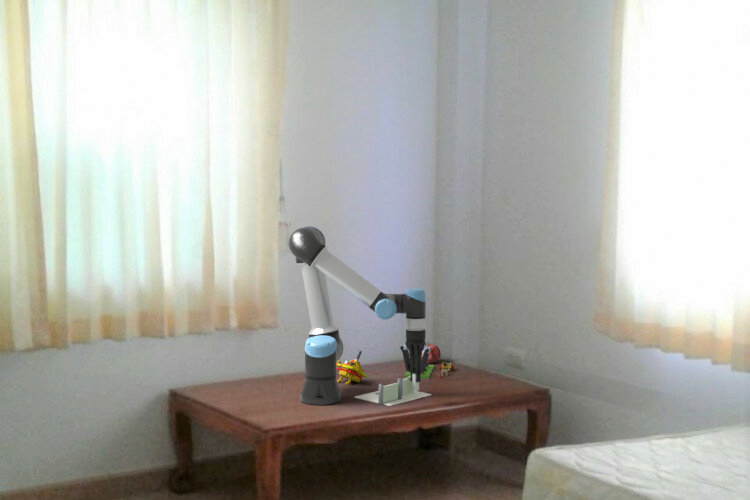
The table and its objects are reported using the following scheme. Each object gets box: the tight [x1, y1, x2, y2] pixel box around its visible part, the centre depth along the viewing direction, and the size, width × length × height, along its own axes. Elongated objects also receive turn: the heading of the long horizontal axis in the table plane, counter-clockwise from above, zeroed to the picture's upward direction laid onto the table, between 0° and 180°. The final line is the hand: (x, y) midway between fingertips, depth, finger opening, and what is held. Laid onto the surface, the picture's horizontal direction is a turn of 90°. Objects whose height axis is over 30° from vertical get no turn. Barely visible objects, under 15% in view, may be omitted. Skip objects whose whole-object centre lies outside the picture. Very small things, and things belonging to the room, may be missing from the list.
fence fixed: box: [378, 377, 404, 406], centre depth 338 cm, size 12×2×8 cm, turn 138°
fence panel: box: [402, 376, 413, 396], centre depth 348 cm, size 12×2×7 cm, turn 155°
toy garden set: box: [404, 360, 455, 379], centre depth 391 cm, size 23×19×5 cm
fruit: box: [421, 341, 442, 364], centre depth 412 cm, size 9×10×10 cm
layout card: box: [354, 390, 432, 407], centre depth 347 cm, size 24×18×1 cm
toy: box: [336, 350, 370, 386], centre depth 370 cm, size 14×10×15 cm
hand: (415, 390), depth 348 cm, fingers closed
